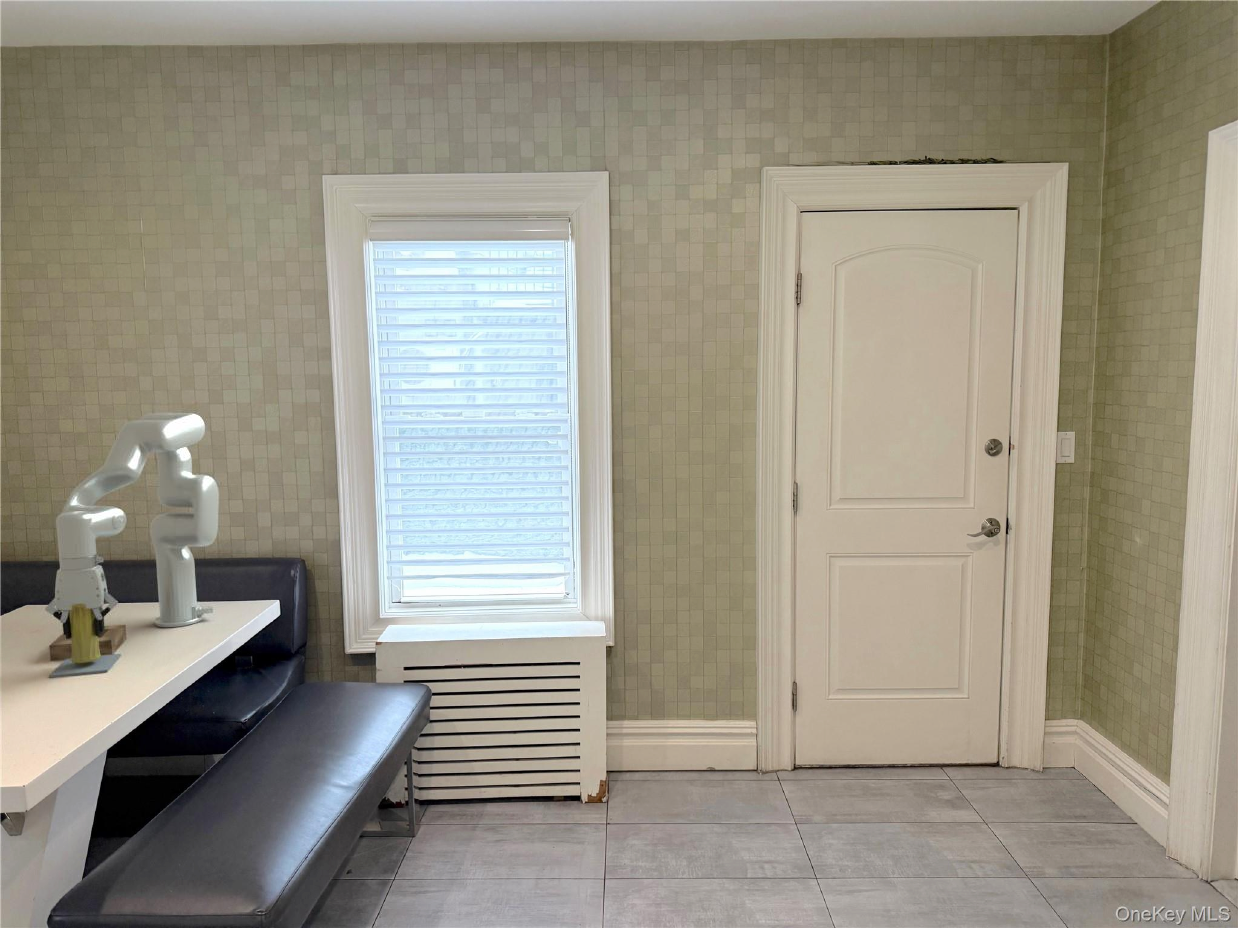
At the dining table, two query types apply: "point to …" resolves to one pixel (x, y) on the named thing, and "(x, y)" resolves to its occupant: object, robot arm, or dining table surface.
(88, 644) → the vase
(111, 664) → the mat
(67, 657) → the collar
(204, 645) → the dining table surface
